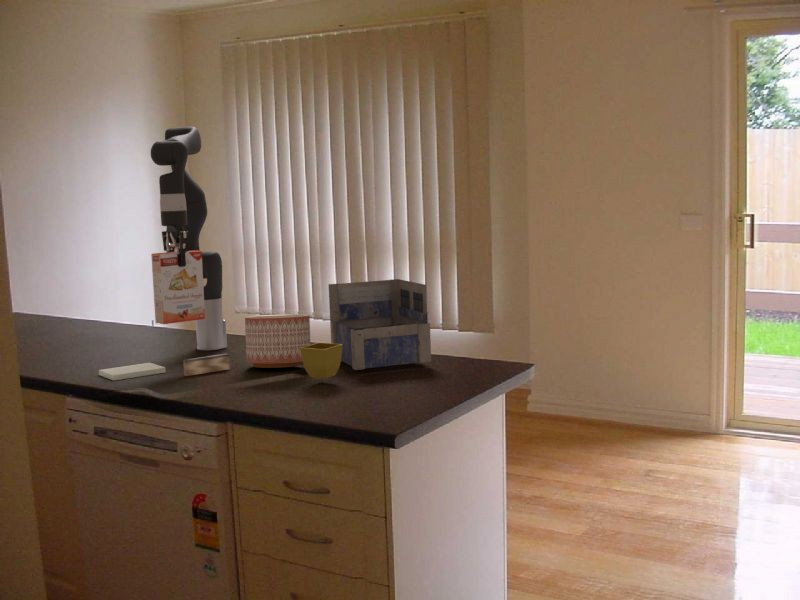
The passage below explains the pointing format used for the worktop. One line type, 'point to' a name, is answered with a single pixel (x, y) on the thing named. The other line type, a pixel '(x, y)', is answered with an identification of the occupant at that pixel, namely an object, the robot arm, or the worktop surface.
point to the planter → (276, 339)
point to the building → (380, 322)
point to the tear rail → (206, 364)
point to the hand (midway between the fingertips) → (177, 265)
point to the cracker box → (178, 287)
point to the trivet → (131, 371)
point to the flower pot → (321, 359)
